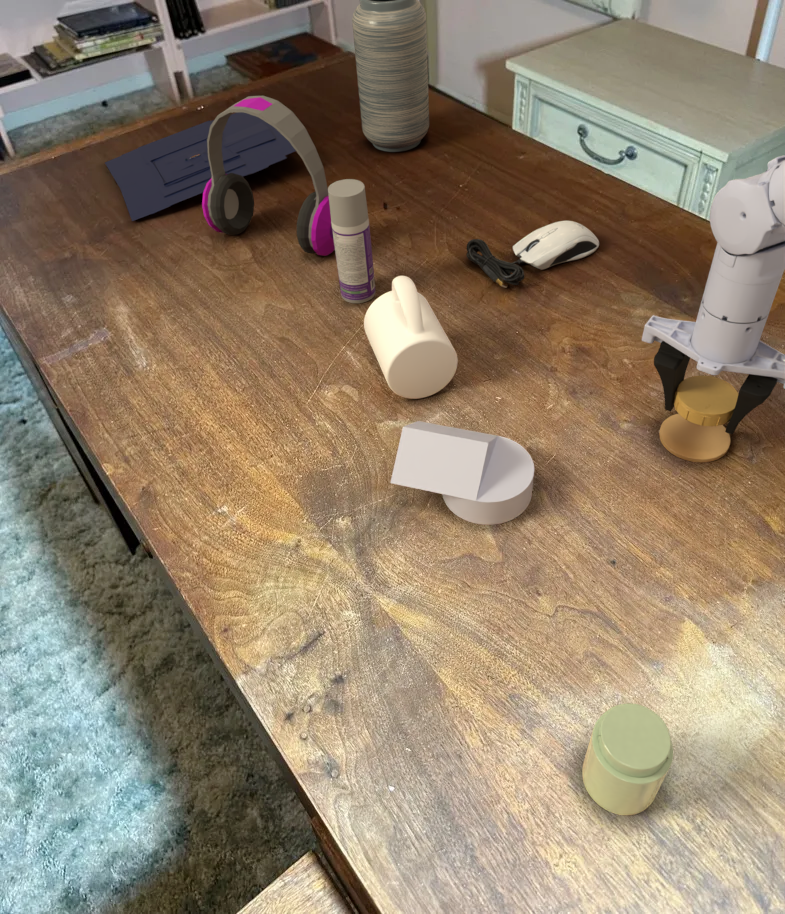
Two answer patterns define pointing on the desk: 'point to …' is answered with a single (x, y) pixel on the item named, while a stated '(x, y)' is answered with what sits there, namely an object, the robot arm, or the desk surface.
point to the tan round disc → (693, 439)
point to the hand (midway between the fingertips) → (700, 415)
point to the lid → (705, 400)
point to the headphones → (233, 197)
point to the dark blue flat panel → (193, 162)
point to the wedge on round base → (466, 471)
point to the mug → (409, 342)
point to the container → (352, 240)
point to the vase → (392, 72)
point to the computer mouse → (536, 251)
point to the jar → (627, 759)
